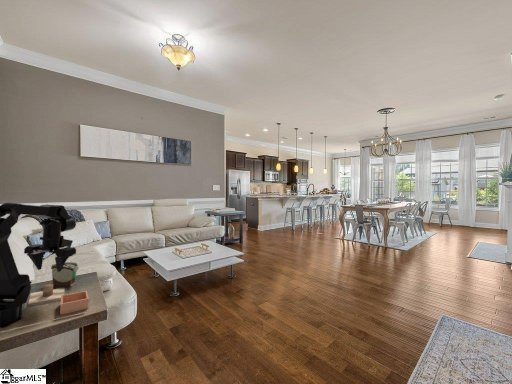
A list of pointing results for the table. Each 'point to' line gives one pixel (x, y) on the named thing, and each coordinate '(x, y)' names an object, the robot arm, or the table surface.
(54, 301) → the mat
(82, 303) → the open box
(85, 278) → the table surface
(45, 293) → the lid
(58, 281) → the food container
